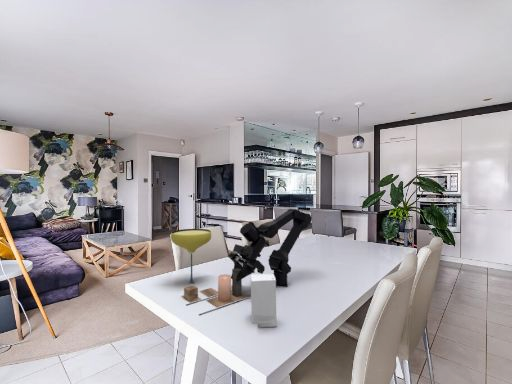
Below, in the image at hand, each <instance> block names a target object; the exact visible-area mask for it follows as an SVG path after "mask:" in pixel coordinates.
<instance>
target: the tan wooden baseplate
mask: <svg viewBox="0 0 512 384" xmlns="http://www.w3.org/2000/svg"><path fill="white" fill-rule="evenodd" d="M240 271H241V269H238V268H235V269H234V268H232V269H231V276H232V279H231V291H232V292H231V300H230V301H228V302H220V301H218V296H217V297H213V298H210V299H207V300H205V302H208V303H209V304H211V305H213V306H214V307H215V308H219V307H222V306H225V305H228V304H230V303H233V302H236V301H239V300H242V299H245V298H250V297H251V294H247V293H246V292H244V291H242V287H243V285H242V281H243V279H241V280H240V281H238V282H237V281H236V278H237V276H238V275H239V273H240Z"/></svg>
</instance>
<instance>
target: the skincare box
mask: <svg viewBox="0 0 512 384" xmlns="http://www.w3.org/2000/svg"><path fill="white" fill-rule="evenodd" d="M250 301H251V302H250V303H251V304H250V305H251V324H257V328H271V327H272V328H275V327H277V286H276V279H275V276H274V274H273V273H263V274H261V273H258V274H255V273H252V274H250Z"/></svg>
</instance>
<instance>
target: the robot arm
mask: <svg viewBox="0 0 512 384" xmlns="http://www.w3.org/2000/svg"><path fill="white" fill-rule="evenodd" d="M312 220H313V218H312V215H311V214H310V213H307V212H303V211H300V210H298V209H296V208H288V209H287V210H286V211H284V213H282V214H281V215H279V216H277V217H276V218H274V219H272V220H271V221H267V222H264V223H262V224H261V223H260V225H259V226H256V225H255V223H254V222H253V221H248V223H246V224H244V225H243V226H241V228H240V229H239V230H240V231H239V233H240V234H241V236H242V237H244V239H245V240H246V241H247V242H249V245H247V244H244V246H243V245H240V244H234V247H233V249H232V252H230V253H229V254H228V256H227V258H229V259H230V260H231V262H233V264H234V265H233V269H235V268H238V269H241V271H240V273H239V275H238V276H237V278H236V281H237V282H238V281H240V280H241V279H242V280H243V279H245V278H246V277H247V276H249V275H250V276H251V275H252V274H255V272H256V271H257V273H258V274H264V272H265V268H266V266H264V265H263V263H262V262H261V261H260V260H258V258H261V257H262V255H261V253H262V251H263V249H264V248H265V247H270V243H269V242H270V239H273V238H275V236H276V235H277V234H278V233H279V231H280V230H281V228H282V227H284V226H285V225H287V224H288V223H289V222H290V221H292V227H291V228H290V231H288V234H287V235H286V237H285V238H284V240H283V242H282V243H281V245H280V247H279V249H273V250H272V251H271V253H270V255H269V256H268V257H269V258H268V266H269V268H270V270H271V271H273V273H272V274H274V276H275V279H276V287H282V288H284V287H285V288H286V287H289V285H288V274H289V273H291V271H292V267H291V265H289V261H290V259H289V255H290V252H291V250H292V249H293V247H294V246H295V244H296V242H297V240H298V238H299V237H300V234H301V233H302V231H304V230H305V229H307V228H308V227H309V226H310V225H311V223H312ZM267 238H268V239H267ZM255 270H256V271H255ZM230 276H231V280H232V275H230Z"/></svg>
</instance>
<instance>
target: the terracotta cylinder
mask: <svg viewBox="0 0 512 384" xmlns="http://www.w3.org/2000/svg"><path fill="white" fill-rule="evenodd" d="M231 276H232V275H231V274H227V273H226V274H219V275H218V276H217V291H218V294H217V295H218V296H217V297H218V301H220V302H228V301H230V300H231V291H232V279H231Z"/></svg>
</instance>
